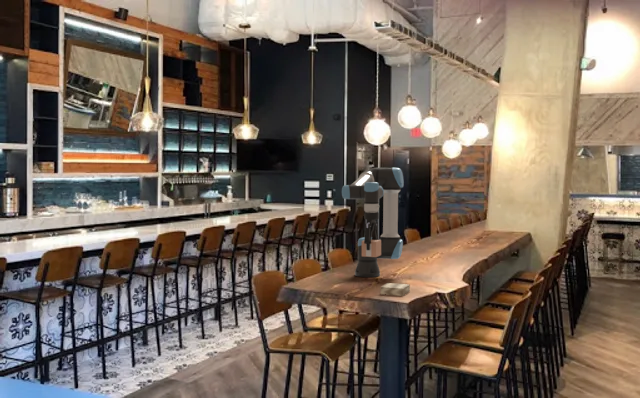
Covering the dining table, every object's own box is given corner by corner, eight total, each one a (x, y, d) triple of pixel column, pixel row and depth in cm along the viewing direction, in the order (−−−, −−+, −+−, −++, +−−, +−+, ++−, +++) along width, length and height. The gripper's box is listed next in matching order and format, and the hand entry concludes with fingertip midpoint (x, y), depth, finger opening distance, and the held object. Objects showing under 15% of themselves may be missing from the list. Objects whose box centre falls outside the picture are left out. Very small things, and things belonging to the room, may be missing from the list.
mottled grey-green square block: (380, 294, 321) (380, 286, 320) (387, 290, 332) (387, 282, 331) (403, 296, 316) (403, 288, 316) (409, 292, 327) (409, 284, 327)
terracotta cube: (361, 256, 326) (361, 241, 326) (366, 254, 333) (366, 239, 333) (376, 257, 323) (376, 241, 322) (381, 255, 330) (381, 240, 330)
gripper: (371, 213, 316) (371, 258, 317) (384, 210, 335) (384, 252, 336) (357, 213, 319) (357, 257, 320) (371, 210, 338) (371, 252, 339)
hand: (371, 255), depth 328 cm, fingers closed on terracotta cube, 8 cm apart
